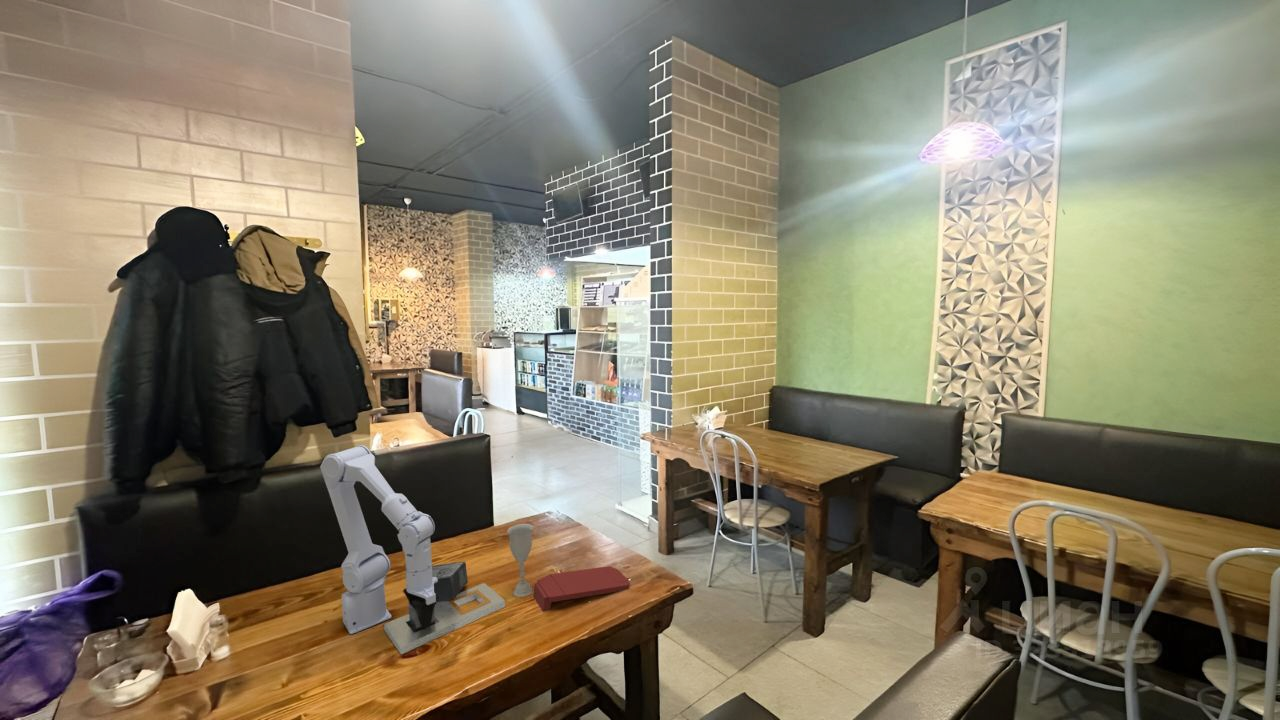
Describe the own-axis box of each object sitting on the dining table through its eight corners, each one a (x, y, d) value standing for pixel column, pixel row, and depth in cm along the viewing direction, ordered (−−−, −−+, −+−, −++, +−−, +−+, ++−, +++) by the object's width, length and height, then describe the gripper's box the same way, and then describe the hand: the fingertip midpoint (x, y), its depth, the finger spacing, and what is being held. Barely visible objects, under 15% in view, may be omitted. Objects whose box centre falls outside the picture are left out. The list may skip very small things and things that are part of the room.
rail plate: (400, 654, 111) (400, 646, 111) (384, 630, 120) (384, 623, 120) (505, 606, 129) (504, 599, 129) (484, 589, 138) (484, 582, 138)
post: (416, 637, 117) (414, 609, 117) (410, 629, 121) (408, 602, 120) (435, 629, 120) (434, 602, 120) (428, 621, 124) (427, 594, 123)
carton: (611, 581, 148) (531, 593, 135) (613, 565, 148) (533, 576, 135) (630, 601, 137) (545, 616, 125) (632, 584, 137) (547, 597, 125)
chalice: (528, 600, 132) (526, 535, 130) (505, 597, 133) (502, 534, 132) (539, 585, 139) (537, 524, 137) (517, 583, 140) (514, 522, 139)
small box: (431, 588, 139) (414, 605, 129) (429, 565, 140) (411, 580, 129) (468, 583, 139) (453, 600, 129) (465, 560, 140) (450, 575, 129)
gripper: (447, 571, 117) (450, 625, 118) (424, 551, 127) (427, 600, 128) (416, 582, 112) (420, 639, 113) (395, 560, 122) (399, 612, 123)
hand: (422, 619), depth 120 cm, fingers closed on post, 4 cm apart
